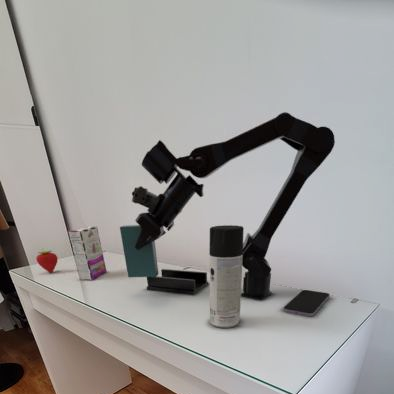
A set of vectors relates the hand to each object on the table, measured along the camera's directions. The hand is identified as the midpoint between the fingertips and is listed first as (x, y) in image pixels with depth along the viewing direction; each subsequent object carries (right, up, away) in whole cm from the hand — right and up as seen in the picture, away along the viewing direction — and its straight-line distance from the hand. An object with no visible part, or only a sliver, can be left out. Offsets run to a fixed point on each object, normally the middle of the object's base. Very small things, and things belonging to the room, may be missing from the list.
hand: (138, 247), depth 76 cm
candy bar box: (-22, 0, +29) cm, 37 cm away
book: (+1, -7, +4) cm, 8 cm away
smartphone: (+44, -16, -4) cm, 47 cm away
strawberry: (-42, +3, +36) cm, 56 cm away
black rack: (+10, -8, +13) cm, 18 cm away
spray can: (+22, -21, -12) cm, 33 cm away
